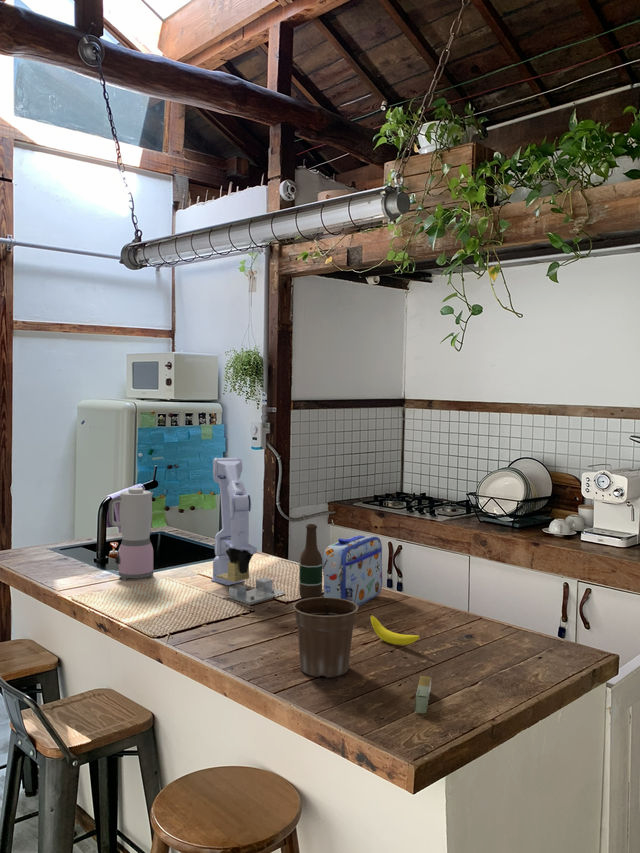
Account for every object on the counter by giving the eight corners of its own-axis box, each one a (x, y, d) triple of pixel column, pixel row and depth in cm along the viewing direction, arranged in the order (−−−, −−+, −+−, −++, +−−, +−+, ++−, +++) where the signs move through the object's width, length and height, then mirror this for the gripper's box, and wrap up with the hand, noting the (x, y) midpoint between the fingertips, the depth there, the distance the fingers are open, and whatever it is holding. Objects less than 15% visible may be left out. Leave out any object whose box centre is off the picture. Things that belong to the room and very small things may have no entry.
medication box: (426, 715, 163) (427, 697, 162) (414, 713, 163) (415, 696, 163) (430, 692, 174) (431, 676, 174) (418, 691, 175) (419, 674, 175)
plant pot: (320, 651, 198) (321, 592, 197) (369, 667, 188) (371, 604, 187) (279, 669, 186) (279, 606, 185) (329, 687, 176) (330, 620, 175)
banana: (415, 655, 197) (416, 632, 196) (365, 636, 211) (365, 614, 211) (423, 653, 199) (423, 629, 198) (372, 633, 213) (373, 612, 213)
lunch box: (346, 617, 227) (347, 546, 226) (317, 611, 233) (318, 541, 231) (385, 595, 251) (387, 530, 249) (358, 590, 256) (359, 527, 255)
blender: (150, 570, 277) (150, 485, 275) (157, 579, 266) (157, 490, 264) (106, 575, 271) (106, 487, 268) (112, 583, 260) (111, 492, 257)
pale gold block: (216, 577, 249) (216, 559, 249) (230, 573, 254) (230, 556, 253) (235, 582, 243) (234, 563, 242) (249, 578, 247) (248, 560, 247)
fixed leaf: (229, 598, 245) (229, 586, 245) (264, 588, 257) (264, 577, 256) (249, 604, 238) (249, 593, 238) (285, 594, 250) (285, 583, 250)
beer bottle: (319, 600, 244) (320, 527, 243) (296, 598, 246) (297, 526, 244) (324, 593, 252) (325, 523, 250) (301, 591, 254) (302, 521, 252)
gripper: (216, 529, 247) (216, 569, 248) (245, 536, 238) (244, 578, 239) (232, 526, 253) (232, 565, 254) (261, 533, 243) (261, 574, 244)
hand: (239, 571), depth 246 cm, fingers closed on pale gold block, 3 cm apart
